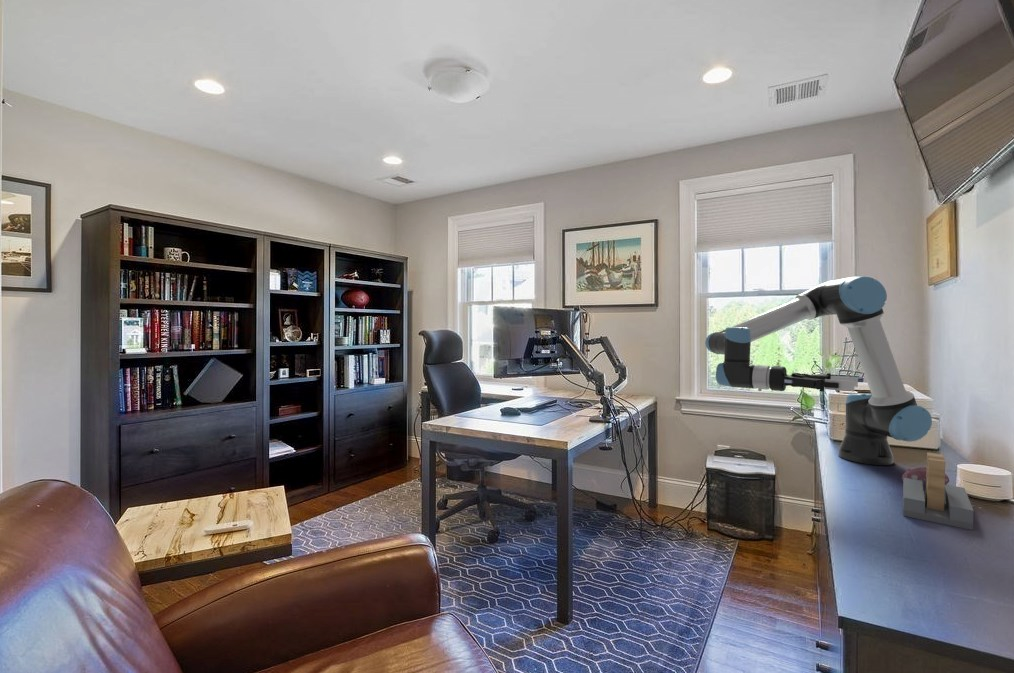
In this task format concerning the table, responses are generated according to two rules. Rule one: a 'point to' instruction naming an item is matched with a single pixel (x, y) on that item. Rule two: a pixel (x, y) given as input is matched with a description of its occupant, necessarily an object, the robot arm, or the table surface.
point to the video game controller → (919, 474)
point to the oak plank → (935, 481)
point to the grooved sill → (954, 509)
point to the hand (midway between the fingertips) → (856, 384)
